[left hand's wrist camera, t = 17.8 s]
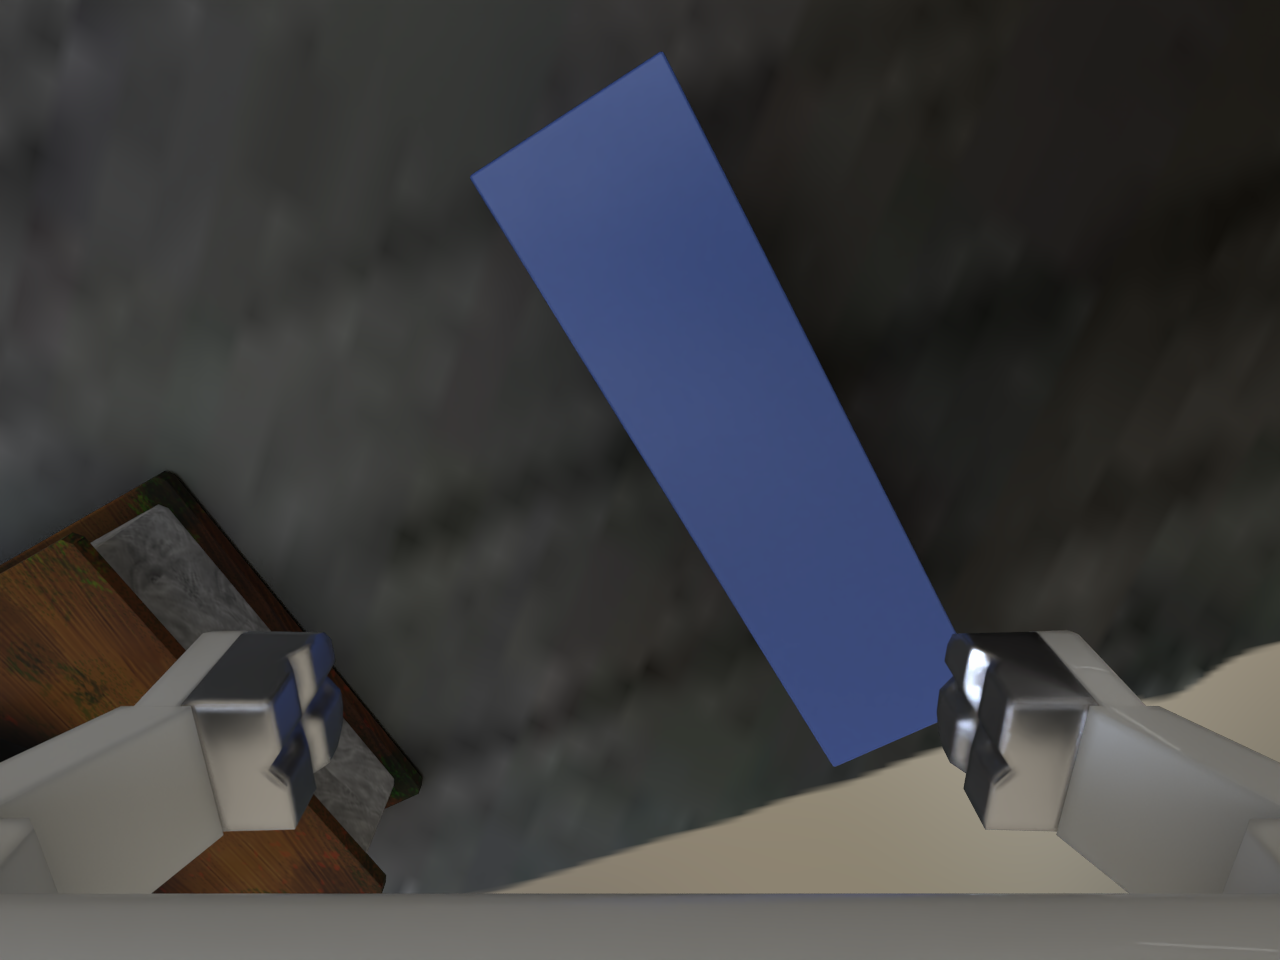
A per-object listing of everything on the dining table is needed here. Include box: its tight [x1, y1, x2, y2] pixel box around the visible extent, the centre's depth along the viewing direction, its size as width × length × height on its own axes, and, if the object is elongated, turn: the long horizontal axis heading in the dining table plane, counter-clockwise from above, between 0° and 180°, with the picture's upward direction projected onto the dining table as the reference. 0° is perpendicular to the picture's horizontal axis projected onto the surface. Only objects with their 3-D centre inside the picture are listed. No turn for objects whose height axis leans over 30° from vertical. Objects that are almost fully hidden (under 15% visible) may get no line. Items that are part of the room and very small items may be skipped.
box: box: [470, 52, 956, 767], centre depth 30 cm, size 25×6×9 cm, turn 30°
